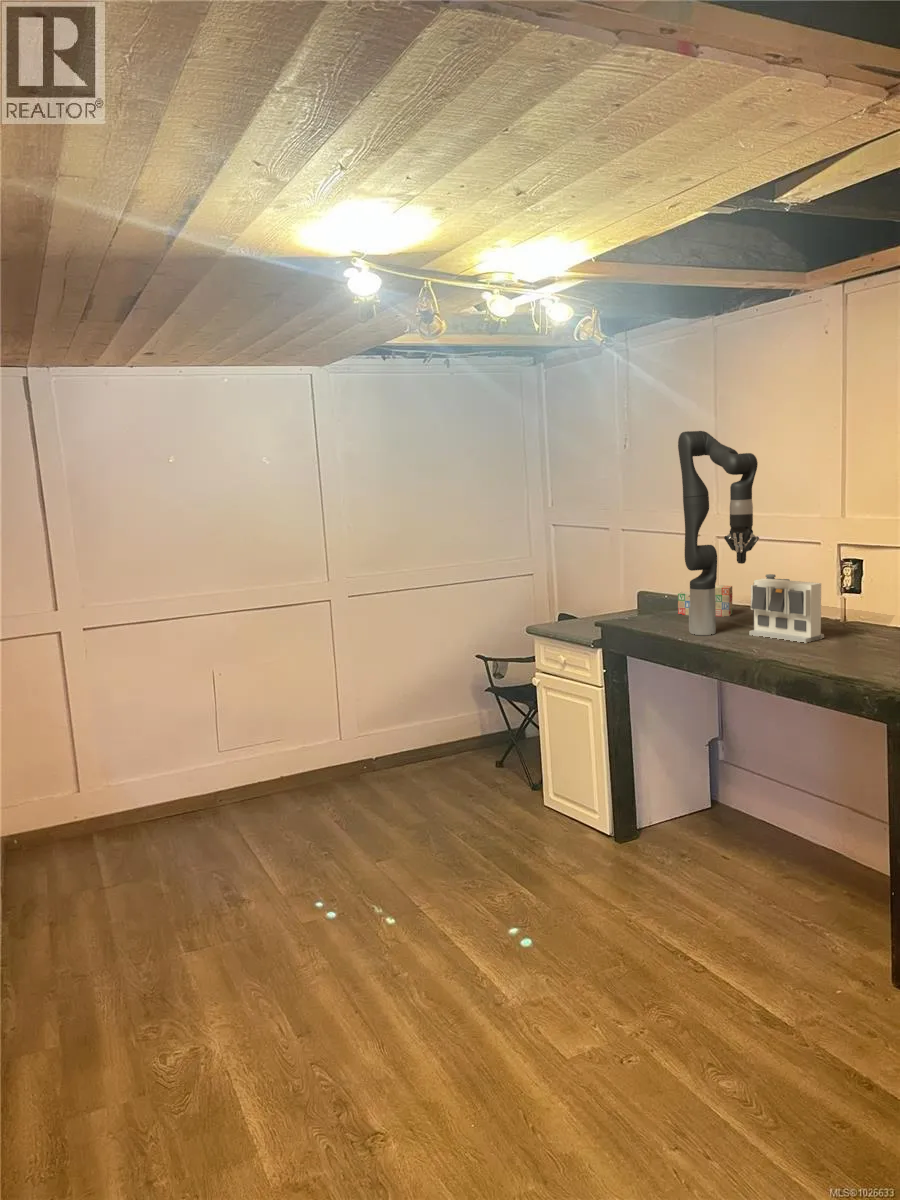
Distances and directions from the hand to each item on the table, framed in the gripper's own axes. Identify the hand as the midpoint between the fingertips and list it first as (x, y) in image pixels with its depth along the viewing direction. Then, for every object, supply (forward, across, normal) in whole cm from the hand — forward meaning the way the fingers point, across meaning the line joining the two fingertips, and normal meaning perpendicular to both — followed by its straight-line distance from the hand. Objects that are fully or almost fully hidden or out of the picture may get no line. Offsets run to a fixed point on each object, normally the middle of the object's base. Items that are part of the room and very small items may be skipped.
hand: (741, 563), depth 308 cm
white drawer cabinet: (+29, -2, -23) cm, 37 cm away
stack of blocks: (+29, +50, -42) cm, 72 cm away
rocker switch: (+19, +5, -17) cm, 26 cm away
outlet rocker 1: (+19, -2, -16) cm, 25 cm away
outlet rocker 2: (+19, -10, -19) cm, 29 cm away
